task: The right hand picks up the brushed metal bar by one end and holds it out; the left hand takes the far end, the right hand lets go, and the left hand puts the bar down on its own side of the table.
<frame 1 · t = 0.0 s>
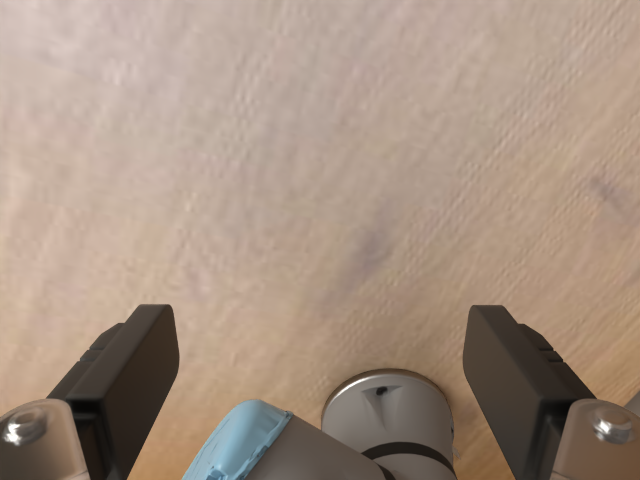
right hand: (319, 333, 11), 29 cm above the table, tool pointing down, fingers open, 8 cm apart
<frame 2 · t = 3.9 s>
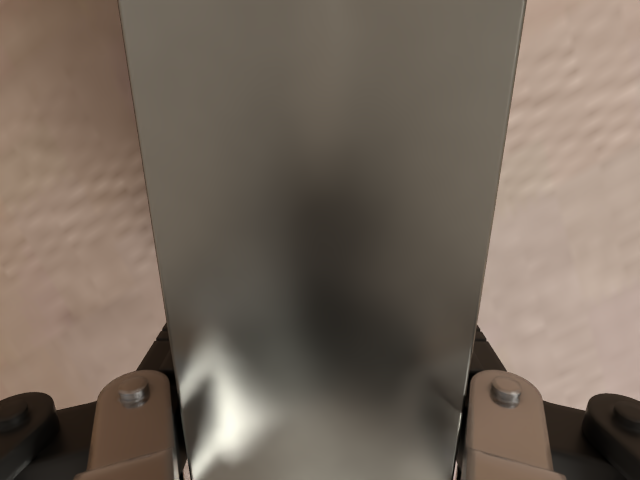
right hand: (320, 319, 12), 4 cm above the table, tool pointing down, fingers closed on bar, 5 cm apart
bar: (320, 14, 13), on the table, touching right hand
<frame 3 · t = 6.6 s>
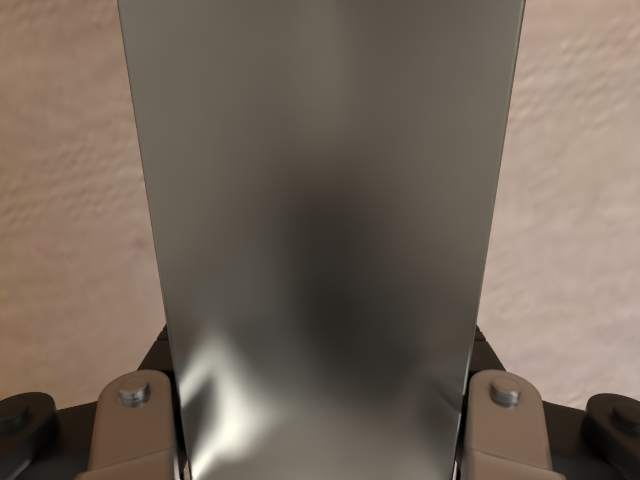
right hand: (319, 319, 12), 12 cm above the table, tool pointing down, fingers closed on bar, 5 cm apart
bar: (320, 14, 13), point 7 cm above the table, touching right hand
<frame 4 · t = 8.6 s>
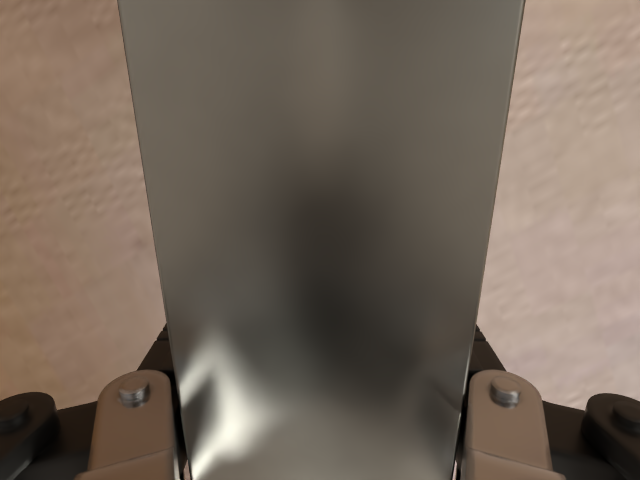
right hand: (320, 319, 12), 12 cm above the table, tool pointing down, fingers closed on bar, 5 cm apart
bar: (320, 14, 13), point 7 cm above the table, touching right hand, left hand
when the right hand's fingers open (12 cm above the table, at t = 9.4 s): bar stays where it is, held by the left hand.
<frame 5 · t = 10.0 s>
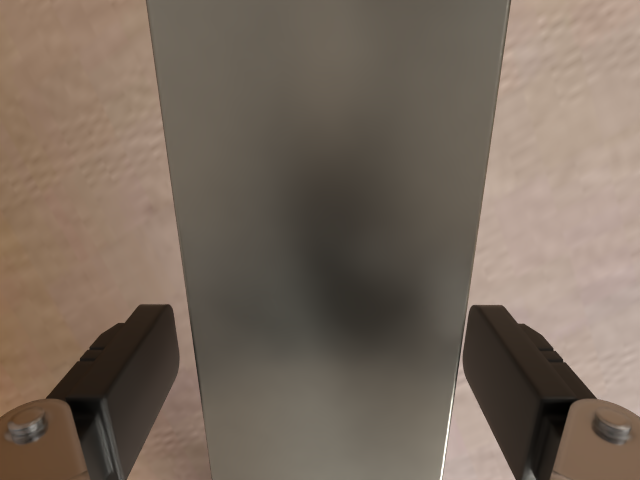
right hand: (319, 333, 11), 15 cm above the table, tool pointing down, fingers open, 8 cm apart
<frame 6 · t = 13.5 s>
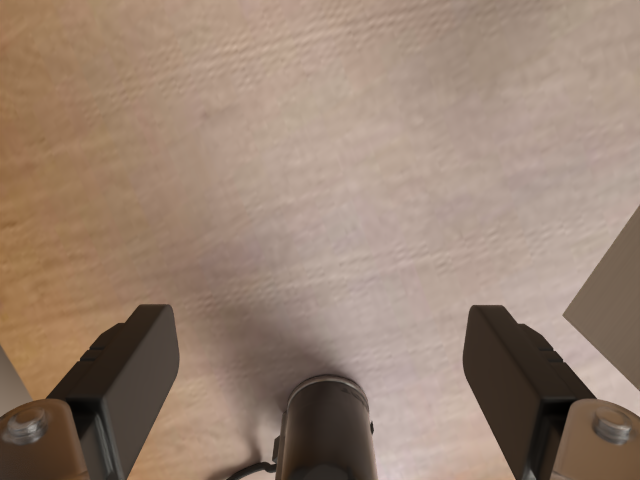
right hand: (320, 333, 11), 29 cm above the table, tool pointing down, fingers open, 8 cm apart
when the left hand's fingers open (2 cm above the table, at t = 18.4 s): bar drops 1 cm, on the table.
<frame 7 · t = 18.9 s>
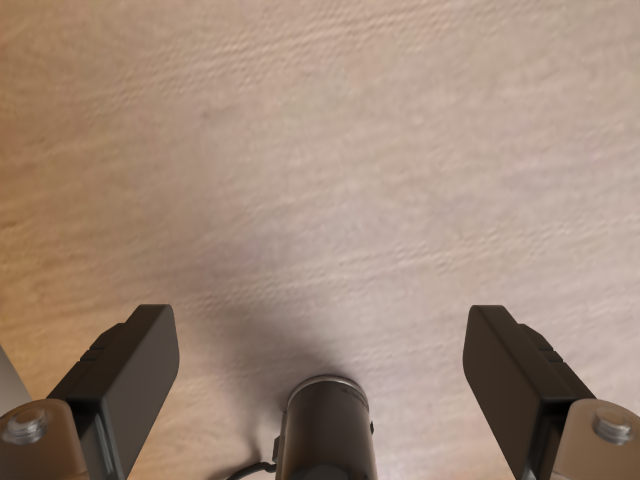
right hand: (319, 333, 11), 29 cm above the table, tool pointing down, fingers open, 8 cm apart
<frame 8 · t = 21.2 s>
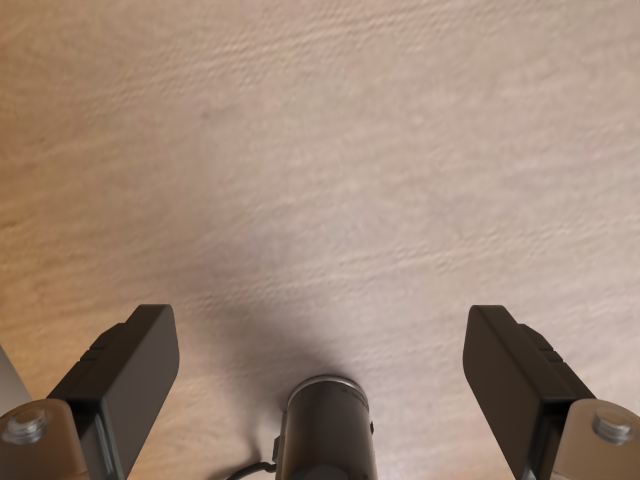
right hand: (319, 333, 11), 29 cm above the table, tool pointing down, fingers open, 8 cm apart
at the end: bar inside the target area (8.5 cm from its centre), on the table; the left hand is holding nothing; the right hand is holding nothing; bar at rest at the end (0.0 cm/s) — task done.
